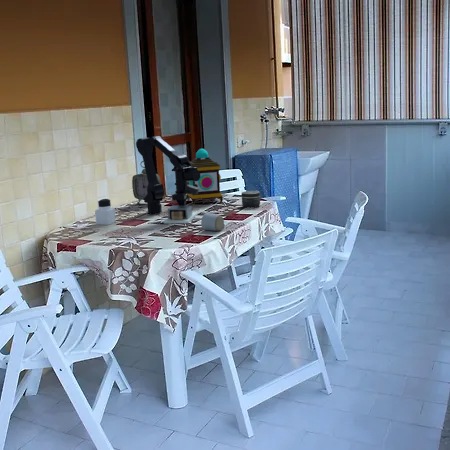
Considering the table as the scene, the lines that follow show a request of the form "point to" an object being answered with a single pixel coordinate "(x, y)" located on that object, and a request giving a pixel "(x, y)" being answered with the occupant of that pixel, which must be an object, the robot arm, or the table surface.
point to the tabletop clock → (141, 185)
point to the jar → (250, 199)
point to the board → (181, 220)
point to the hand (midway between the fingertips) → (183, 211)
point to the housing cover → (186, 209)
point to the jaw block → (177, 215)
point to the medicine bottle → (105, 213)
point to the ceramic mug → (212, 222)
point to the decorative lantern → (206, 177)
